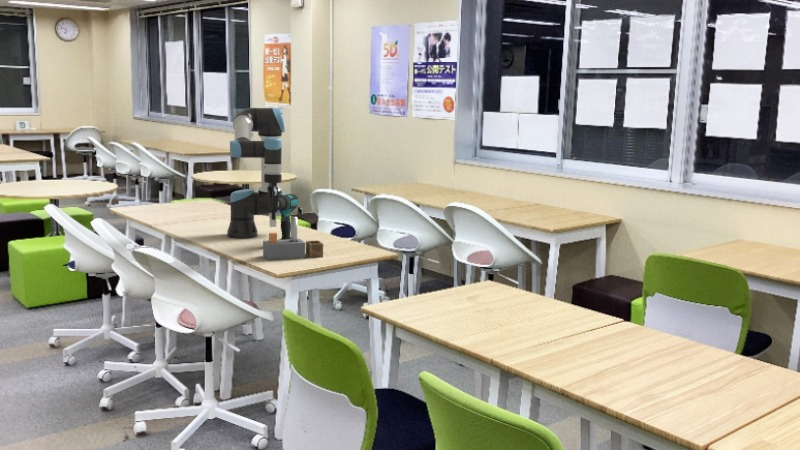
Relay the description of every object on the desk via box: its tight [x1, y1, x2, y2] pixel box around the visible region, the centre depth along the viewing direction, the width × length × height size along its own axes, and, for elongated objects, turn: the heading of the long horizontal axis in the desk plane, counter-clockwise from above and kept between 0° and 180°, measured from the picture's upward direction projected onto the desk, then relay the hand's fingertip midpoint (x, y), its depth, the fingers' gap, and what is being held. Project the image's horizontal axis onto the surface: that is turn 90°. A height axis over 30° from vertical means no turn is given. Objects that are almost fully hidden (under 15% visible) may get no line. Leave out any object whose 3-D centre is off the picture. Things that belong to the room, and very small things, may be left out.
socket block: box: [262, 238, 306, 261], centre depth 321 cm, size 9×17×7 cm, turn 112°
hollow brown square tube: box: [305, 240, 324, 258], centre depth 327 cm, size 8×6×6 cm
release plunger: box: [268, 232, 278, 243], centre depth 319 cm, size 3×3×8 cm
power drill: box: [278, 193, 300, 240], centre depth 341 cm, size 26×9×25 cm, turn 168°
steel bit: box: [290, 216, 298, 242], centre depth 322 cm, size 3×3×18 cm
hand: (272, 226), depth 317 cm, fingers closed
